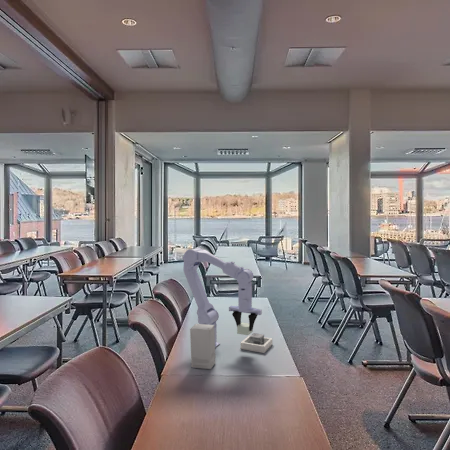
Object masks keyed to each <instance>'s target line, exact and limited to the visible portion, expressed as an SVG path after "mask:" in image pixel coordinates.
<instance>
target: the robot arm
mask: <svg viewBox="0 0 450 450" xmlns="http://www.w3.org/2000/svg"><path fill="white" fill-rule="evenodd" d="M182 259H183V273H184V275H185V279H186V280H187V283H188V286H189V288H190V291H191V293H192V296H193V299H194V301H195V303H196V306H197V310H196V311H197V312H196V314H197V321H198V323H197V324H206V325H214V332H215V348H216V347H218V346H219V345H221V343H220V342H218V341H217V333H218V332H217V326H218V325H217V322H218V321H219V316H220V315H219V312H218V310H216V309H215V307H214V305H213V304H212V303H210V301H209V299H208V297H207V296H208V295H207V293H206V292H205V289H204V287H203V284H202V281H201V279H200V276H199V274H198V270H197V269H198V268H199V266H200V264H201V263H202V262H203V263H205V262H206V263H209V264H211V265H212V266H215V267H217V268H218V269H221V270H222V273H223V274H225V275H227V276H229V277H230V278H231V279H234V280H236V282H237V283H238V290H237V291H238V297H237V298H238V302H237V303H238V305H229V306H228V312H232V314H231V315H232V317H233V319H234V321H235V324H236V326H237V325H239V324H240V323H242V321H241V320H242V314H243V313H245V314H248V323H249V331H252V330H253V329H254V325H255V321H256V319H257V318H258V316H261V315H262V313H263V310H262V309H259V308H255V307H253V302H252V301H253V300H252V299H253V298H252V297H253V287H252V283H253V282H252V281H253V280H254V273H253V272H252V270H250V269H249V268H245V267H244V266H239V265H238V264H236V263H235V261H225V260H223V259H221V258H219V257H217V256H216V255H214V254H212V253H211V252H210V251H208V250H207V249H204V248H201V247H196V248H192V249H190V248H189V249H187V250H186V251H185V252H184V254H183V256H182Z"/></svg>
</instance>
